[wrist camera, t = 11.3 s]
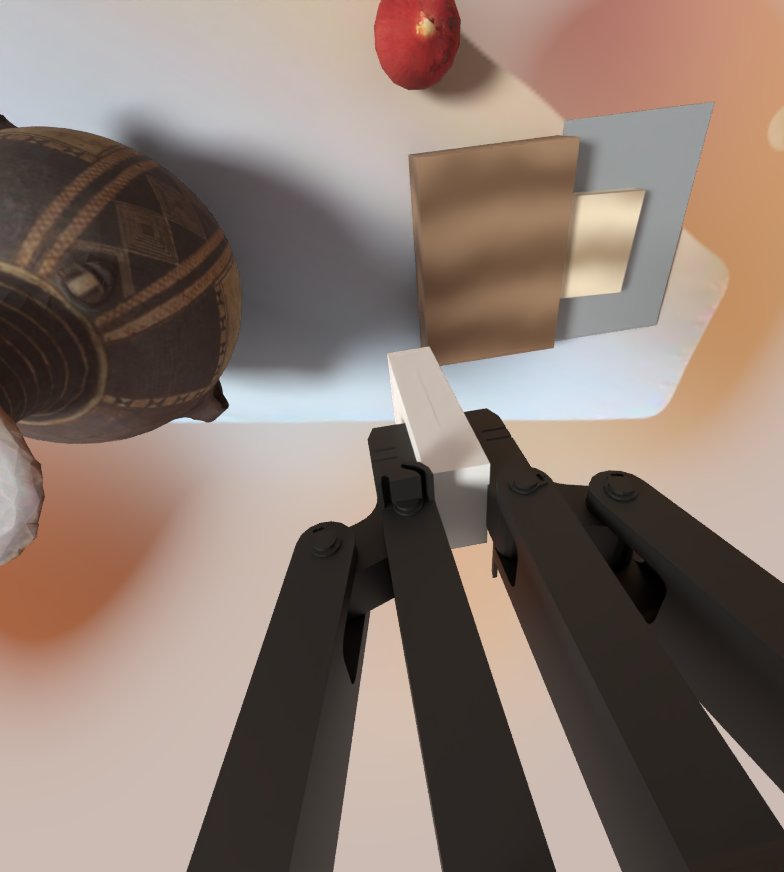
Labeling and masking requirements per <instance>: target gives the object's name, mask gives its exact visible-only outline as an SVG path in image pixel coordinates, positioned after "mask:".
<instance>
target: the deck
mask: <svg viewBox="0 0 784 872" xmlns="http://www.w3.org/2000/svg"><path fill="white" fill-rule="evenodd" d="M579 142H580V137H577V136H558V135H557V136H549V137H542V138H534V139H526V140H518V141H511V142H503V143H495V144H487V145H480V146H472V147H464V148H456V149H449V150H441V151H433V152H425V153H418V154H410V155H409V170H410V185H411V201H412V216H413V231H414V246H415V262H416V277H417V292H418V308H419V323H420V338H421V348H423V347H430V349H431V351H432V353H433V354H434V356H435V358H436V360H437V362H438V364H439V366H443V365H449V364H455V363H461V362H468V361H474V360H480V359H487V358H493V357H499V356H506V355H512V354H518V353H525V352H531V351H537V350H544V349H550V348H554V341H555V333H556V325H557V317H558V309H559V301H560V293H561V285H562V277H563V269H564V262H565V254H566V246H567V238H568V230H569V222H570V214H571V206H572V198H573V190H574V182H575V174H576V166H577V158H578V150H579Z"/></svg>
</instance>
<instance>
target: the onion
mask: <svg viewBox="0 0 784 872" xmlns="http://www.w3.org/2000/svg"><path fill="white" fill-rule="evenodd" d="M460 21H461V20H460V17H459V14H458V10H457V8H456V4H455V1H454V0H381V2H380V4H379V7H378V11H377V16H376V20H375V25H374V34H375V49H376V52H377V55H378V58H379V61H380V64H381V67H382V69H383V70H384V71H385V73H386V74H387V75H388V76H389V78H390V79H391V80H392V82H393V83H395V84H397V85H399V86H401V87H403V88H405V89H408V90H420V89H425V88H427V87H430V86H432V85H434V84H436V83H438V82H439V81H440V79H441V78H442V77H443V76H444V75H445V73H446V72H447V71H448V70H449V69H450V67H451V66H452V64H453V61H454V58H455V56H456V53H457V50H458V48H459V45H460V23H461V22H460Z"/></svg>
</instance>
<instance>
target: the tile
mask: <svg viewBox="0 0 784 872" xmlns="http://www.w3.org/2000/svg"><path fill="white" fill-rule="evenodd" d="M645 191H646V190H642V189H637V188H622V189H610V190H598V191H587V192H575V193H573V198H572V206H571V214H570V222H569V230H568V238H567V246H566V254H565V262H564V269H563V277H562V285H561V293H560V299H561V298H571V297H580V296H590V295H599V294H608V293H618V292H621V288H622V284H623V280H624V276H625V272H626V268H627V263H628V259H629V255H630V251H631V247H632V243H633V239H634V235H635V231H636V227H637V223H638V219H639V215H640V211H641V207H642V203H643V199H644V195H645Z"/></svg>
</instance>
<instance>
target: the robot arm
mask: <svg viewBox="0 0 784 872" xmlns="http://www.w3.org/2000/svg"><path fill="white" fill-rule="evenodd" d="M387 356H388V365H389V374H390V382H391V391H392V400H393V408H394V417H395V421H396V425H390V426H384V427H378V428H373V429H372V431H371V433H370V436H369V438H368V445H369V450H370V456H371V463H372V469H373V475H374V481H375V486H376V492H377V504H376V507H375V509H374V510H373V512H372V513H371V514H370V515H369V516H368V517H367V518H366V519H364V520H362V521H361V522H359V523H357V524H355V525H353V526H350V527H347V526H346V525H344V524H342V523H339V522H332V521H330V522H323V523H319V524H317V525H314V526H312V527H310V528H309V529H308V530H306V531H305V532H304V533H303V534H302V535H301V536H300V538H299V540H298V542H297V543H296V546H295V549H294V552H293V555H292V558H291V561H290V564H289V567H288V570H287V573H286V576H285V579H284V582H283V585H282V588H281V591H280V594H279V597H278V600H277V603H276V606H275V609H274V612H273V615H272V618H271V621H270V624H269V627H268V630H267V633H266V636H265V639H264V642H263V645H262V648H261V651H260V654H259V657H258V660H257V663H256V666H255V669H254V671H253V674H252V677H251V681H250V684H249V687H248V689H247V692H246V696H245V698H244V701H243V704H242V707H241V711H240V713H239V716H238V719H237V722H236V725H235V728H234V731H233V734H232V738H231V740H230V743H229V746H228V749H227V752H226V755H225V758H224V761H223V764H222V767H221V770H220V773H219V776H218V779H217V782H216V785H215V788H214V791H213V794H212V797H211V800H210V803H209V806H208V809H207V812H206V815H205V818H204V821H203V824H202V827H201V830H200V833H199V836H198V839H197V842H196V845H195V848H194V851H193V854H192V857H191V860H190V863H189V866H188V869H187V872H333V868H334V860H335V854H336V847H337V840H338V834H339V827H340V819H341V813H342V805H343V798H344V791H345V784H346V778H347V770H348V763H349V756H350V750H351V743H352V736H353V729H354V721H355V715H356V707H357V701H358V694H359V687H360V679H361V673H362V666H363V659H364V652H365V644H366V638H367V631H368V624H369V617H370V610H372V609H374V608H376V607H378V606H379V605H382V604H383V603H385V602H387V601H389V600H390V599H393V598H395V604H396V610H397V616H398V621H399V627H400V632H401V638H402V644H403V650H404V656H405V661H406V667H407V673H408V679H409V684H410V689H411V696H412V702H413V707H414V713H415V718H416V725H417V730H418V735H419V742H420V747H421V753H422V759H423V764H424V771H425V776H426V782H427V787H428V793H429V799H430V805H431V811H432V816H433V822H434V828H435V834H436V839H437V845H438V850H439V856H440V862H441V868H442V872H556V869H555V866H554V863H553V860H552V857H551V854H550V851H549V848H548V845H547V842H546V839H545V836H544V833H543V829H542V826H541V823H540V820H539V817H538V814H537V811H536V808H535V805H534V802H533V799H532V796H531V793H530V790H529V787H528V783H527V780H526V777H525V774H524V771H523V768H522V765H521V762H520V759H519V756H518V753H517V750H516V747H515V744H514V741H513V738H512V734H511V731H510V729H509V726H508V722H507V719H506V716H505V713H504V710H503V707H502V704H501V701H500V698H499V695H498V692H497V689H496V686H495V682H494V679H493V677H492V674H491V670H490V667H489V664H488V661H487V658H486V655H485V652H484V649H483V646H482V643H481V640H480V637H479V633H478V631H477V627H476V624H475V622H474V618H473V615H472V612H471V609H470V606H469V603H468V600H467V597H466V594H465V591H464V588H463V585H462V581H461V578H460V575H459V572H458V569H457V566H456V563H455V560H454V557H453V554H452V551H451V549H454V548H459V547H465V546H470V545H476V544H481V543H487V529H488V531H489V534H490V536H491V538H492V540H493V557H492V575H493V578H495V577H497V570H499V573H500V575H501V578H502V580H503V582H504V585H505V588H506V590H507V592H508V595H509V597H510V599H511V602H512V605H513V607H514V609H515V612H516V614H517V617H518V619H519V622H520V624H521V627H522V629H523V631H524V634H525V636H526V639H527V641H528V643H529V646H530V648H531V651H532V653H533V656H534V658H535V660H536V663H537V666H538V668H539V670H540V673H541V675H542V678H543V680H544V683H545V685H546V687H547V690H548V692H549V695H550V697H551V700H552V702H553V705H554V707H555V709H556V712H557V714H558V717H559V719H560V721H561V724H562V726H563V729H564V731H565V734H566V736H567V739H568V741H569V744H570V746H571V748H572V751H573V753H574V756H575V758H576V761H577V763H578V766H579V768H580V770H581V773H582V775H583V778H584V780H585V782H586V785H587V788H588V790H589V792H590V795H591V797H592V800H593V802H594V805H595V807H596V809H597V812H598V814H599V817H600V819H601V821H602V824H603V826H604V829H605V831H606V834H607V836H608V839H609V841H610V844H611V846H612V848H613V851H614V853H615V856H616V858H617V860H618V863H619V866H620V868H621V870H622V872H784V829H783V828H782V826H781V825H780V823H779V822H778V820H777V819H776V817H775V816H774V814H773V813H772V811H771V810H770V808H769V806H768V805H767V804H766V802H765V801H764V799H763V798H762V796H761V794H760V793H759V791H758V790H757V788H756V787H755V785H754V784H753V782H752V781H751V779H750V778H749V776H748V775H747V773H746V772H745V770H744V769H743V767H742V766H741V764H740V763H739V761H738V760H737V758H736V757H735V755H734V754H733V752H732V751H731V749H730V748H729V747H728V745H727V743H726V742H725V740H724V739H723V737H722V736H721V734H720V733H719V731H718V730H717V728H716V727H715V725H714V724H713V722H712V721H711V719H710V718H709V716H708V715H707V713H706V711H705V710H704V709H703V707H702V705H703V706H704V707H705V708H706V710H707V711H708V712H709V713H710V714H711V715H712V716H713V717H714V718H715V719H716V720H717V721H718V723H720V725H721V726H722V727H723V728H724V729H725V730H726V731H727V732H728V733H729V734H730V735H731V737H732V738H733V739H734V740H735V741H736V742H737V743H738V744H739V745H740V746H741V747H742V748H743V749H744V751H745V752H746V753H747V754H748V755H749V756H750V757H751V758H752V759H753V760H754V761H755V763H756V764H757V765H758V766H759V767H760V768H761V769H762V770H763V771H764V772H765V773H766V774H767V776H769V778H770V779H771V780H772V781H773V782H774V783H775V784H776V785H777V786H778V787H779V788H780V790H782V792H783V793H784V583H782V582H781V581H779V580H778V579H776V578H775V577H774V576H773V575H771V574H770V573H768V572H767V571H766V570H765V569H763V568H762V567H760V566H759V565H758V564H756V563H755V562H754V561H752V560H751V559H750V558H748V557H747V556H745V555H744V554H743V553H741V552H740V551H739V550H737V549H736V548H734V547H733V546H732V545H731V544H729V543H728V542H726V541H725V540H724V539H722V538H721V537H720V536H718V535H717V534H716V533H714V532H713V531H712V530H710V529H709V528H707V527H706V526H705V525H703V524H702V523H701V522H699V521H698V520H697V519H695V518H694V517H692V516H691V515H690V514H688V513H687V512H686V511H684V510H683V509H682V508H680V507H678V506H677V505H676V504H675V503H673V502H672V501H671V500H669V499H668V498H667V497H665V496H664V495H663V494H661V493H660V492H658V491H657V490H656V489H654V488H653V487H652V486H650V485H649V484H648V483H646V482H645V481H643V480H642V479H640V478H638V477H636V476H634V475H633V474H629V473H626V472H622V471H605V472H600V473H598V474H596V475H595V476H593V477H592V479H591V481H590V483H589V486H582V485H566V484H559V483H555V482H553V481H552V479H551V478H550V477H549V476H548V475H547V474H546V473H544V472H542V471H540V470H538V469H536V468H532V467H531V466H530V464H529V463H528V461H527V460H526V458H525V457H524V455H523V454H522V452H521V450H520V449H519V447H518V445H517V444H516V442H515V441H514V439H513V438H511V435H510V433H509V431H508V430H507V429H506V427H505V425H504V423H503V422H502V420H501V419H500V417H499V416H498V415H496V414H495V413H493V412H492V411H490V410H488V409H487V408H486V409H480V410H474V411H468V412H463V410H462V409H461V407H460V405H459V403H458V401H457V399H456V397H455V395H454V393H453V391H452V389H451V387H450V385H449V383H448V381H447V380H446V378H445V376H444V374H443V372H442V370H441V368H440V366H439V364H438V362H437V360H436V358H435V356H434V354H433V353H432V351H431V349H430V347H423V348H417V349H410V350H404V351H398V352H391V353H387ZM700 703H701V704H702V705H701V704H700Z"/></svg>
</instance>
